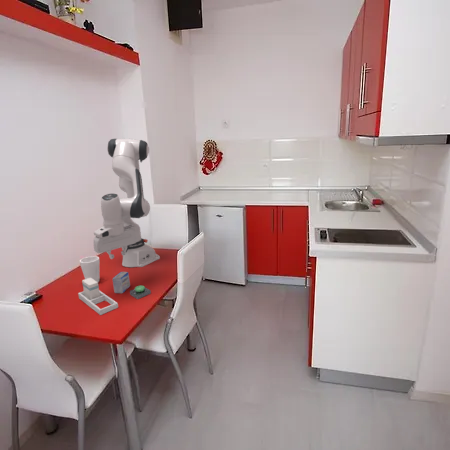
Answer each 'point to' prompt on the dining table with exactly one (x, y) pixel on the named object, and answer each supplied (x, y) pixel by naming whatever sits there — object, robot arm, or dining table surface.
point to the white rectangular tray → (97, 300)
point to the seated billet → (91, 288)
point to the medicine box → (121, 282)
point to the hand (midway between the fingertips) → (118, 256)
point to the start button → (139, 288)
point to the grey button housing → (141, 294)
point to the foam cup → (90, 267)
